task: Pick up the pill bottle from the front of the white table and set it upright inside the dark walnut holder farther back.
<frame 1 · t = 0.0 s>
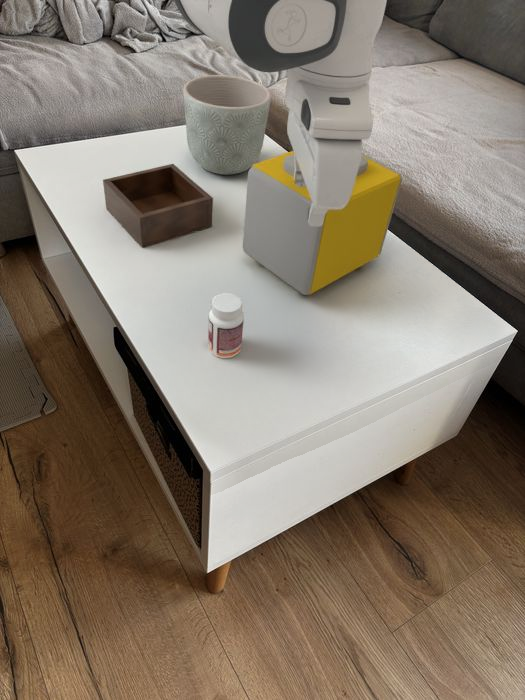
hand: (307, 203, 70), 20 cm above the table, tool pointing down, fingers open, 8 cm apart
holder: (159, 217, 99), on the table
pill bottle: (224, 348, 78), on the table
alarm clock: (309, 262, 94), on the table
planter: (224, 165, 116), on the table
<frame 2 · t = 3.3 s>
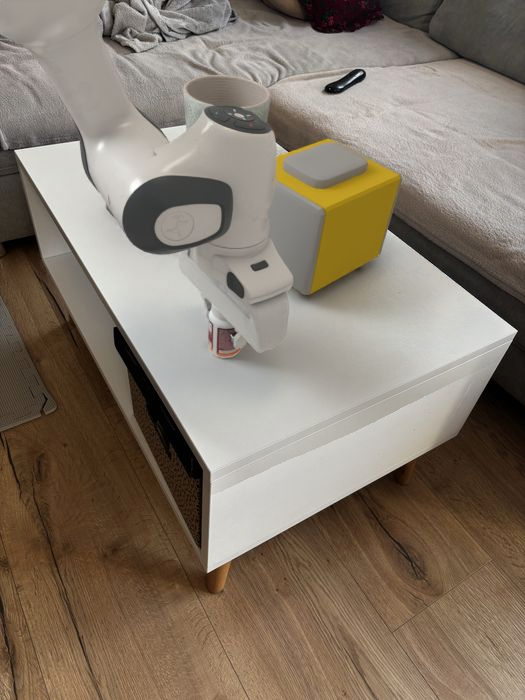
hand: (225, 331, 75), 3 cm above the table, tool pointing down, fingers closed on pill bottle, 5 cm apart
pill bottle: (224, 348, 78), on the table, touching gripper
everything else where it was.
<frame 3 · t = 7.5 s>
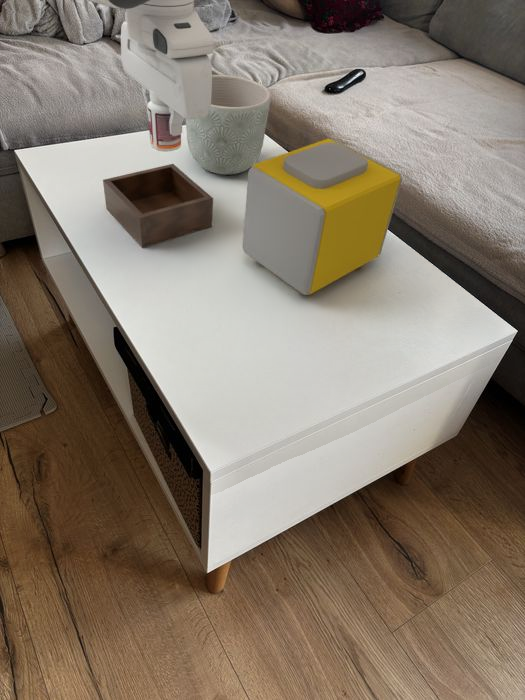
hand: (164, 125, 82), 19 cm above the table, tool pointing down, fingers closed on pill bottle, 5 cm apart
pill bottle: (165, 146, 85), point 16 cm above the table, touching gripper
everything else where it was.
when the fingers open (4 cm above the table, at t = 11.9 s): pill bottle stays where it is, resting on holder.
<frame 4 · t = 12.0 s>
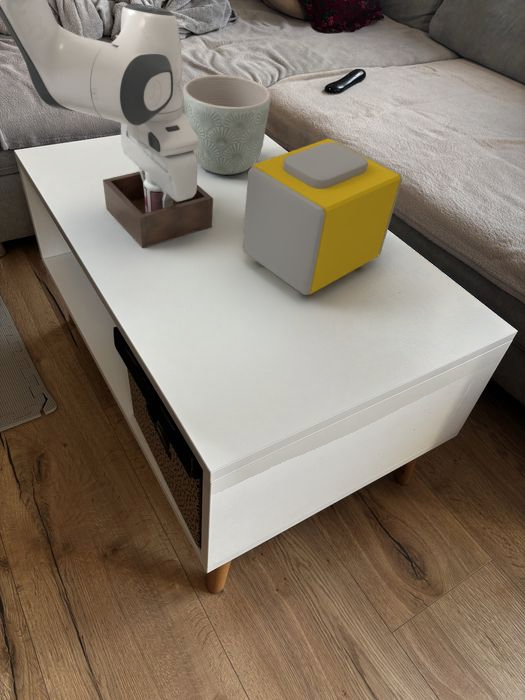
hand: (158, 199, 97), 4 cm above the table, tool pointing down, fingers open, 5 cm apart
pill bottle: (159, 215, 99), point 1 cm above the table, touching holder
everything else where it was.
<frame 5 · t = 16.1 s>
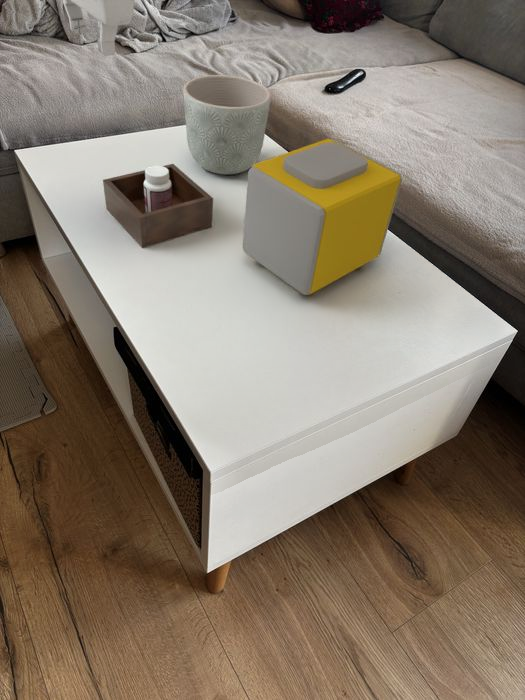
hand: (92, 43, 76), 29 cm above the table, tool pointing down, fingers open, 8 cm apart
nothing on the table moved.
at the end: pill bottle inside the target area in the holder (0.1 cm from its centre), point 0.6 cm above the holder's base; pill bottle tilted 0° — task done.
